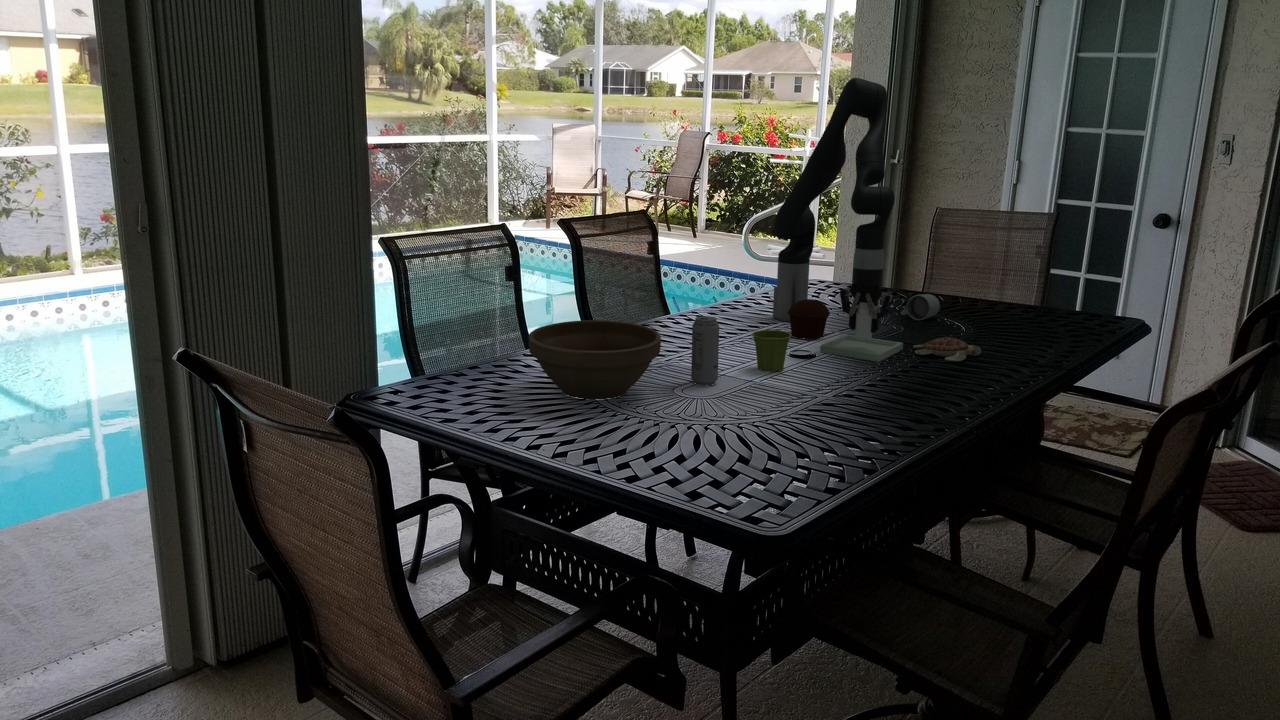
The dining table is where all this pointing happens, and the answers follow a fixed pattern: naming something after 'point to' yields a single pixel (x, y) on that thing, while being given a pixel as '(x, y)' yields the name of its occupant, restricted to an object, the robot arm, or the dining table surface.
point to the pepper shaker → (863, 322)
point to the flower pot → (594, 355)
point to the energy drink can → (705, 350)
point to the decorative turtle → (948, 349)
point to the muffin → (808, 319)
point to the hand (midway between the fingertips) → (863, 330)
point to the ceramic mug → (922, 307)
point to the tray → (861, 348)
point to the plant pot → (771, 349)
